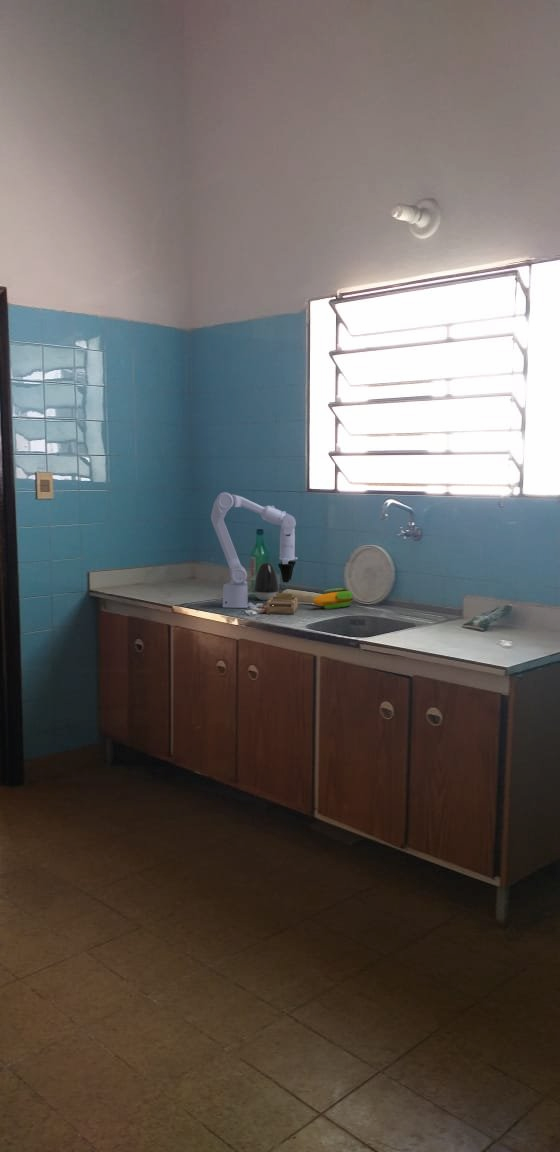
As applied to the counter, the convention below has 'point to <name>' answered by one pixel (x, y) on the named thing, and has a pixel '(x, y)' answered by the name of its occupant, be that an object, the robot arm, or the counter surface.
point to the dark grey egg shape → (266, 582)
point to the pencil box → (282, 607)
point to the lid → (282, 599)
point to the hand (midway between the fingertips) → (286, 581)
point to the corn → (334, 599)
